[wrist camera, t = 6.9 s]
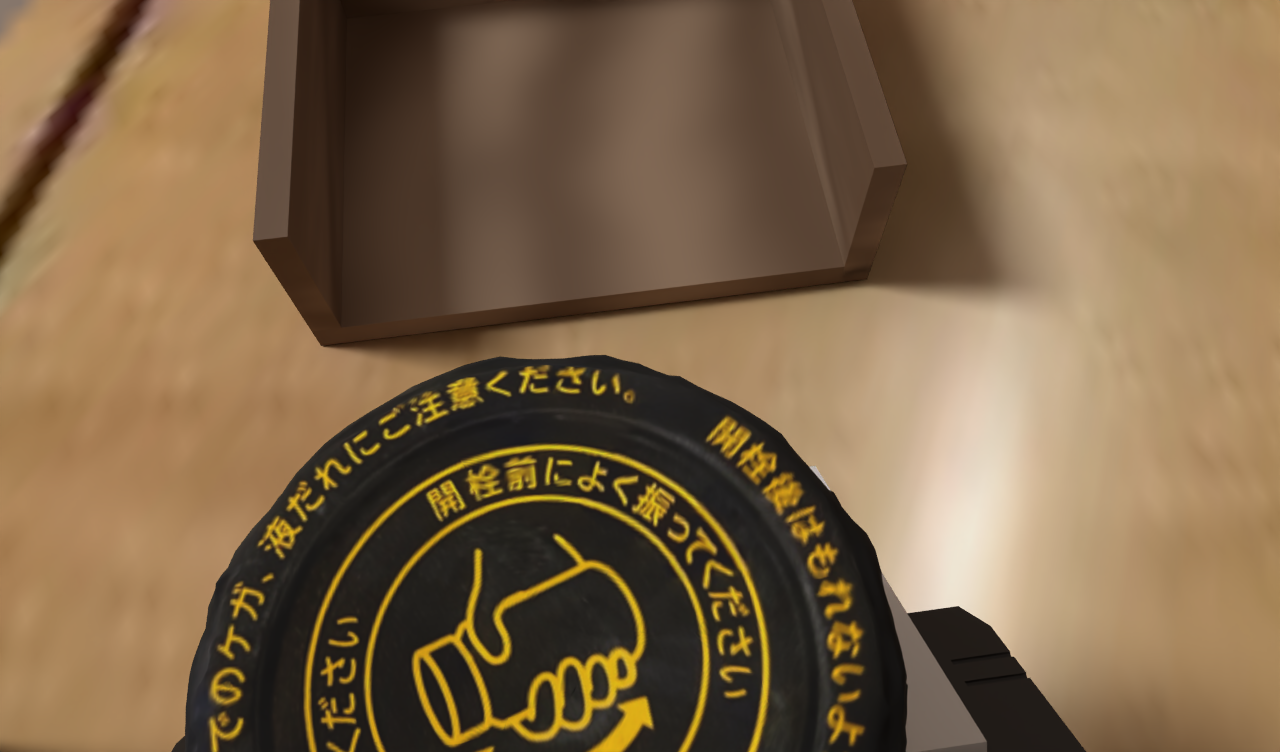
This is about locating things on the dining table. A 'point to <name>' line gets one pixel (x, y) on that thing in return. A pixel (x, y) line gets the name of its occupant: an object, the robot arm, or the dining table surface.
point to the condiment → (552, 583)
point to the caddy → (564, 157)
